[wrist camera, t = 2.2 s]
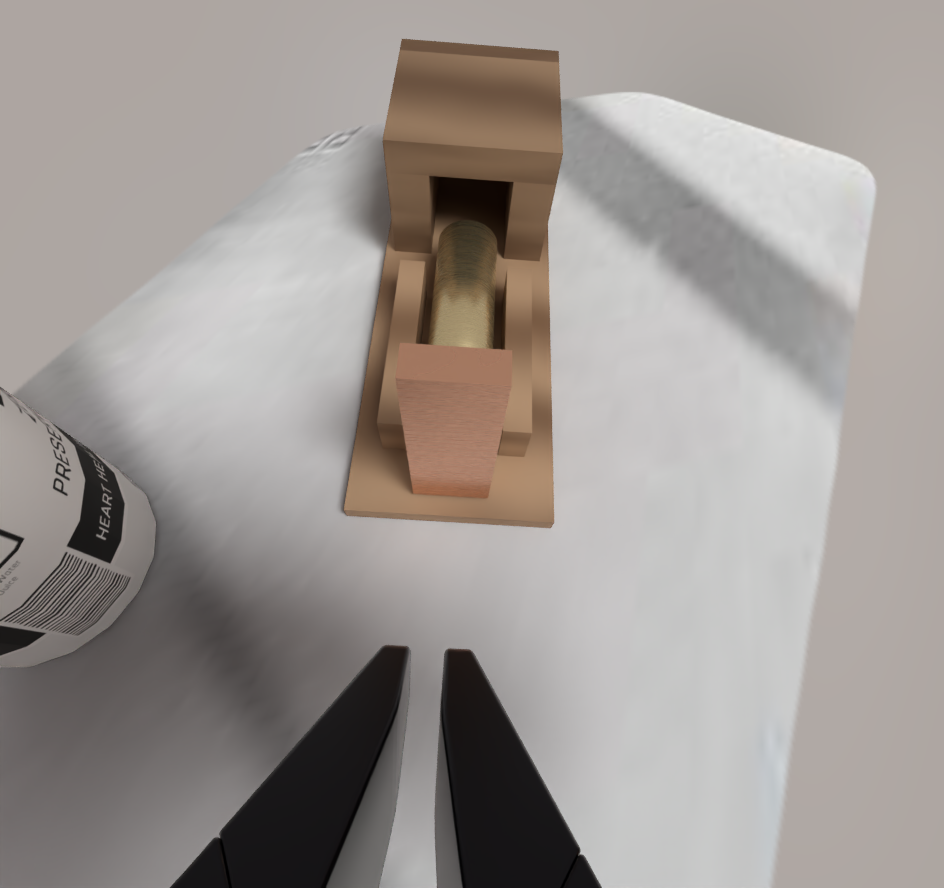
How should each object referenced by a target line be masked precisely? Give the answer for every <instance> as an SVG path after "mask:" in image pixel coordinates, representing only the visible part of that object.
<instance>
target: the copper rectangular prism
mask: <svg viewBox="0 0 944 888" xmlns="http://www.w3.org/2000/svg"><path fill="white" fill-rule="evenodd" d="M496 260H497V240H496V237H495V235H494V233H493V232H492V231H491V229H490V228H488V227H487V226H486V225H484V224H482V223H480V222H477V221H472V220H461V221H456V222H453V223H451V224H450V225H448V226H447V227H445V228H444V230H443V231H442V232H441V234H440V237H439V243H438V253H437V262H436V272H435V281H434V291H433V300H432V310H431V320H430V329H429V339H428V345H427V344H412V343H400V346H399V353H398V361H397V368H396V376H395V381H396V387H397V393H398V400H399V406H400V412H401V419H402V425H403V431H404V438H405V444H406V450H407V457H408V463H409V470H410V476H411V482H412V489H413V494H424V495H440V496H457V497H473V498H488V495H489V491H490V486H491V481H492V477H493V472H494V467H495V462H496V458H497V453H498V448H499V444H500V439H501V434H502V429H503V425H504V420H505V415H506V411H507V406H508V401H509V396H510V392H511V387H512V350H501V349H493V340H494V314H495V287H496Z"/></svg>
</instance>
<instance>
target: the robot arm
mask: <svg viewBox="0 0 944 888" xmlns="http://www.w3.org/2000/svg"><path fill="white" fill-rule="evenodd" d="M410 661H411V651H410V649H409V647H407V646H395V645H385V646H383V647H382V648H381V649H380V650H379V651H378V652H377V653H376V654H375V655H374V657H373V658H372V659H371V660H370V661H369V662H368V663H367V665H366V666H365V667H364V668H363V669H362V670H361V671H360V673H359V674H358V675H357V676H356V677H355V678H354V679H353V681H352V682H351V683H350V684H349V685H348V686H347V687H346V689H345V690H344V691H343V692H342V693H341V694H340V695H339V697H338V698H337V699H336V700H335V701H334V702H333V703H332V705H331V706H330V707H329V708H328V709H327V710H326V711H325V713H324V714H323V715H322V716H321V717H320V718H319V719H318V721H317V722H316V723H315V724H314V725H313V726H312V727H311V729H310V730H309V731H308V732H307V733H306V734H305V735H304V737H303V738H302V739H301V740H300V741H299V742H298V743H297V744H296V746H295V747H294V748H293V749H292V750H291V751H290V752H289V754H288V755H287V756H286V757H285V758H284V759H283V760H282V762H281V763H280V764H279V765H278V766H277V767H276V768H275V770H274V771H273V772H272V773H271V774H270V775H269V776H268V778H267V779H266V780H265V781H264V782H263V783H262V784H261V786H260V787H259V788H258V789H257V790H256V791H255V792H254V794H253V795H252V796H251V797H250V798H249V799H248V800H247V802H246V803H245V804H244V805H243V806H242V807H241V808H240V810H239V811H238V812H237V813H236V814H235V815H234V816H233V817H232V819H231V820H230V821H229V822H228V823H227V824H226V825H225V827H224V828H223V829H222V830H221V831H220V834H219V835H220V838H218V837H216V838H214V839H213V840H212V841H211V842H210V843H209V844H208V846H207V847H206V848H205V849H204V850H203V851H202V852H201V854H200V855H199V856H198V857H197V858H196V859H195V860H194V862H193V863H192V864H191V865H190V866H189V867H188V868H187V870H186V871H185V872H184V873H183V874H182V875H181V876H180V877H179V878H178V879H177V880H176V882H175V883H174V884H173V885H172V886H171V887H170V888H379V884H380V880H381V875H382V871H383V867H384V862H385V858H386V853H387V849H388V845H389V840H390V836H391V831H392V826H393V821H394V816H395V811H396V804H397V797H398V789H399V781H400V772H401V764H402V755H403V747H404V738H405V729H406V721H407V712H408V703H409V690H410ZM435 850H436V874H437V888H602V887H601V885H600V883H599V882H598V880H597V878H596V876H595V874H594V872H593V871H592V869H591V867H590V865H589V863H588V861H587V859H586V858H585V856H584V855H580V847H579V845H578V844H577V842H576V840H575V838H574V836H573V834H572V833H571V831H570V829H569V827H568V825H567V823H566V822H565V820H564V818H563V816H562V814H561V812H560V811H559V809H558V807H557V805H556V803H555V801H554V800H553V798H552V796H551V794H550V792H549V790H548V789H547V787H546V785H545V783H544V781H543V779H542V778H541V776H540V774H539V772H538V770H537V768H536V767H535V765H534V763H533V761H532V759H531V757H530V756H529V754H528V752H527V750H526V748H525V746H524V744H523V743H522V741H521V739H520V737H519V735H518V733H517V732H516V730H515V728H514V726H513V724H512V722H511V721H510V719H509V717H508V715H507V713H506V711H505V710H504V708H503V706H502V704H501V702H500V700H499V699H498V697H497V695H496V693H495V691H494V689H493V688H492V686H491V684H490V682H489V680H488V678H487V677H486V675H485V673H484V671H483V669H482V667H481V666H480V664H479V662H478V660H477V658H476V656H475V655H474V653H473V652H472V651H471V650H468V649H447V650H446V651H445V654H444V667H443V680H442V693H441V708H440V725H439V742H438V759H437V776H436V793H435Z"/></svg>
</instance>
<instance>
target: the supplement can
mask: <svg viewBox="0 0 944 888" xmlns="http://www.w3.org/2000/svg"><path fill="white" fill-rule="evenodd" d="M155 533H156V521H155V518H154V515H153V512H152V510H151V507H150V504H149V501H148V498H147V496H146V494H145V493H144V492H143V491H142V490H141V489H140V488H139V487H138V486H137V485H136V484H135V483H134V482H133V481H132V480H131V479H130V478H129V477H128V476H126V475H125V474H124V473H123V472H121V471H120V470H118V469H117V468H115V467H114V466H113V465H111V464H110V463H108V462H107V461H105V460H104V459H103V458H101V457H100V456H98V455H97V454H95V453H94V452H93V451H91V450H90V449H88V448H87V447H85V446H84V445H83V444H81V443H80V442H78V441H77V440H75V439H74V438H73V437H71V436H70V435H68V434H67V433H65V432H64V431H63V430H61V429H60V428H58V427H57V426H55V425H54V424H53V423H51V422H50V421H48V420H47V419H45V418H44V417H42V416H41V415H40V414H38V413H37V412H35V411H34V410H32V409H31V408H30V407H28V406H27V405H25V404H24V403H22V402H21V401H20V400H18V399H17V398H15V397H14V396H12V395H11V394H10V393H8V392H7V391H5V390H4V389H2V388H1V387H0V667H32V666H35V665H38V664H41V663H43V662H46V661H49V660H52V659H55V658H58V657H60V656H63V655H66V654H69V653H72V652H74V651H75V650H77V649H78V648H80V647H81V646H82V645H84V644H85V643H87V642H88V641H90V640H91V639H92V638H94V637H95V636H97V635H98V634H99V633H101V632H102V631H104V630H105V629H107V628H108V627H109V626H111V625H112V623H113V622H114V621H115V620H116V619H117V617H118V616H119V615H120V614H121V613H122V611H123V610H124V609H125V608H126V607H127V605H128V604H129V603H130V602H131V601H132V599H133V598H134V597H135V596H136V595H137V593H138V592H139V590H140V587H141V585H142V583H143V581H144V578H145V576H146V574H147V571H148V569H149V567H150V564H151V562H152V560H153V557H154V548H155Z"/></svg>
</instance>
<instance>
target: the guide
mask: <svg viewBox="0 0 944 888" xmlns="http://www.w3.org/2000/svg"><path fill="white" fill-rule="evenodd" d="M558 53H559V52H558V51H550V50H537V49H525V48H512V47H499V46H486V45H474V44H461V43H449V42H436V41H423V40H410V39H402V42H401V47H400V52H399V57H398V63H397V68H396V73H395V78H394V84H393V89H392V94H391V99H390V104H389V110H388V115H387V120H386V125H385V130H384V136H383V147H384V156H385V165H386V174H387V183H388V192H389V201H390V210H391V224H390V230H389V236H388V242H387V248H386V254H385V260H384V266H383V273H382V279H381V285H380V291H379V297H378V303H377V309H376V315H375V322H374V328H373V334H372V340H371V346H370V352H369V358H368V364H367V370H366V377H365V383H364V389H363V395H362V401H361V407H360V413H359V419H358V426H357V432H356V438H355V444H354V450H353V456H352V462H351V468H350V474H349V481H348V487H347V493H346V499H345V505H344V511H345V513H346V515H347V516H360V517H377V518H393V519H410V520H427V521H443V522H460V523H476V524H493V525H509V526H526V527H542V528H551V527H552V525H553V524H554V493H553V446H552V400H551V353H550V306H549V260H548V220H549V215H550V211H551V206H552V201H553V197H554V192H555V187H556V183H557V178H558V174H559V169H560V164H561V160H562V155H563V145H562V122H561V99H560V75H559V54H558ZM461 220H472V221H477V222H480V223H482V224H484V225H486V226H487V227H488V228H490V229H491V231H492V232H493V233H494V235H495V237H496V240H497V260H496V287H495V314H494V340H493V349H501V350H512V387H511V392H510V396H509V401H508V406H507V411H506V415H505V420H504V425H503V429H502V434H501V439H500V444H499V448H498V453H497V458H496V462H495V467H494V472H493V477H492V481H491V486H490V491H489V495H488V498H473V497H457V496H440V495H424V494H413V489H412V482H411V476H410V470H409V463H408V457H407V450H406V444H405V438H404V431H403V425H402V419H401V412H400V406H399V400H398V393H397V387H396V381H395V376H396V368H397V361H398V353H399V346H400V343H412V344H427V345H428V339H429V329H430V320H431V310H432V300H433V291H434V281H435V272H436V262H437V253H438V243H439V237H440V234H441V232H442V231H443V230H444V228H445V227H447V226H448V225H450V224H451V223H453V222H456V221H461Z"/></svg>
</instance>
